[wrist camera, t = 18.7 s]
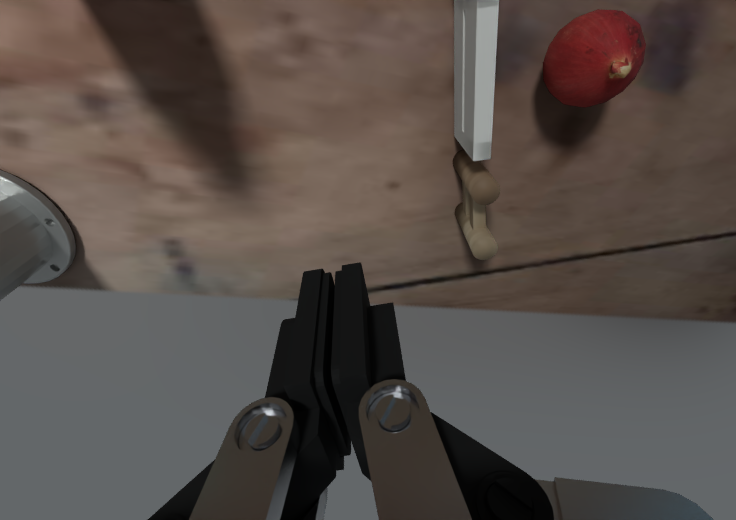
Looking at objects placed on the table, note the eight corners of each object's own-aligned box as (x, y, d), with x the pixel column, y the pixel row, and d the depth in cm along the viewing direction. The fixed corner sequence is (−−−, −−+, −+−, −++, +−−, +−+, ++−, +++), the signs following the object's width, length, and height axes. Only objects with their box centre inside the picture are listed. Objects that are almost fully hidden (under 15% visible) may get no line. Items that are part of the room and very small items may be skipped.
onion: (590, -11, 26) (669, -20, 19) (616, 62, 28) (694, 76, 22) (514, 49, 28) (561, 59, 21) (545, 111, 30) (596, 139, 24)
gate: (453, -12, 25) (477, -18, 20) (471, -15, 25) (499, -22, 20) (454, 136, 31) (473, 161, 25) (468, 134, 30) (490, 158, 25)
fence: (454, 221, 36) (472, 261, 30) (442, -130, 22) (469, -180, 17) (475, 218, 36) (497, 258, 30) (475, -137, 22) (515, -190, 16)
